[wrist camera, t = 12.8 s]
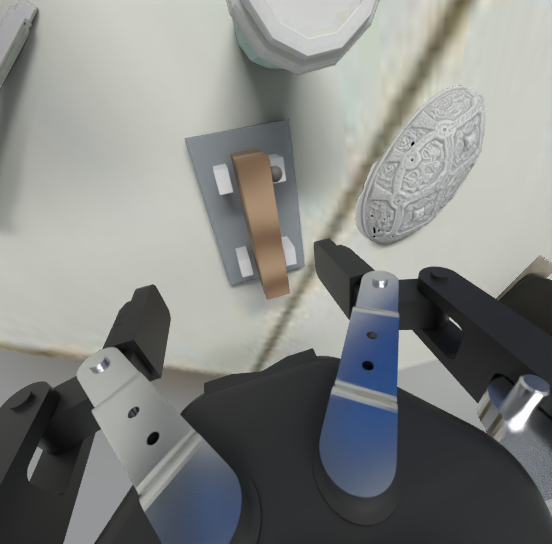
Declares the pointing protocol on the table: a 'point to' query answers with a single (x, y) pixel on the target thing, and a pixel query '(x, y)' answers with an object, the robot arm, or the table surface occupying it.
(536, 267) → the shoulder bag
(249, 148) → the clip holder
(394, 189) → the oval brooch
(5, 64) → the caliper
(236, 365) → the table surface
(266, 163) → the cabinet door
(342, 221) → the table surface
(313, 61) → the disposable coffee cup
